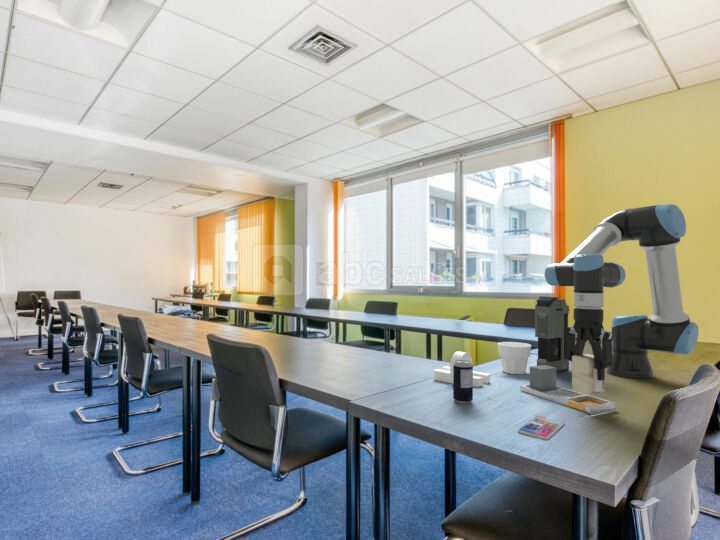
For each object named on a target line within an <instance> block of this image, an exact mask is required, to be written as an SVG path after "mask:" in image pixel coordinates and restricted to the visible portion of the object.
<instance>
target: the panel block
mask: <svg viewBox="0 0 720 540" xmlns="http://www.w3.org/2000/svg"><path fill="white" fill-rule="evenodd" d="M595 367H596V364H595V360H594V356H593V354H590V353H589V354H588V353H585V354H584V353H583V355H575V356H572V362H571V390H572V391H576V392H579V393H583V394H586V395H590V396H593V395H597V394H603V393H605V379H604V380H602V391H600V392H593V368H595Z"/></svg>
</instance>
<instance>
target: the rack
mask: <svg viewBox="0 0 720 540" xmlns="http://www.w3.org/2000/svg"><path fill="white" fill-rule="evenodd" d="M519 389H520V392H523V393H526V394H530V395H532V396H536V397H539V398H542V399H544V400H548V401H551V402H554V403H557V404H560V405H564V406H566V407H570V408H571V409H572V408H573V409H574V410H579V411H581V412H585V413H587V416H594V415H595V416H596V415H600V414H605V413H609V412H613V411H616V402H614V401H611V400H607V399H605V398H600V397H597V396H593V395H586V394H583V393H579V392H576V391H572V389H568V388H565V387H563V386H562V387H561V386H557V385H556V389H555V390H548V391H539V390H536V389H532V388H530V383H529V384H521V385H520V386H519Z"/></svg>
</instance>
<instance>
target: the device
mask: <svg viewBox="0 0 720 540" xmlns="http://www.w3.org/2000/svg"><path fill="white" fill-rule="evenodd" d="M534 304H535V305H534V337H535V338H537V359H536V366H539V365H547V366H551V367H555V368H556V375H557V374H561V373H566V372H569V371H570V360H567V359H566V340H567V335H566V331H565V327H568V315H569V314H570V307H569V305H568V304H567V302H566V298H565V299H563V298H559V297H557V296H541V295H539V297H538V299H537V300H536V299H535V302H534Z"/></svg>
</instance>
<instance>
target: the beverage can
mask: <svg viewBox="0 0 720 540" xmlns="http://www.w3.org/2000/svg"><path fill="white" fill-rule="evenodd" d="M471 363H472V364H471ZM473 371H474V366H473V361H472V362H471V361H467V360H456V361H455V363H454V365H453V384H452V385H453V387H452V388H453V389H452V390H453V392H452V394H453V395H452V396H453V397H452V398H453V399H454V401H455V402H456V403H458V404H462V403H463V404H462V405H464V404H465V405H467V403H468V404H470V403H471V402H472V401H474V399H473V398H474V389H473V388H474V386H473Z"/></svg>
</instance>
